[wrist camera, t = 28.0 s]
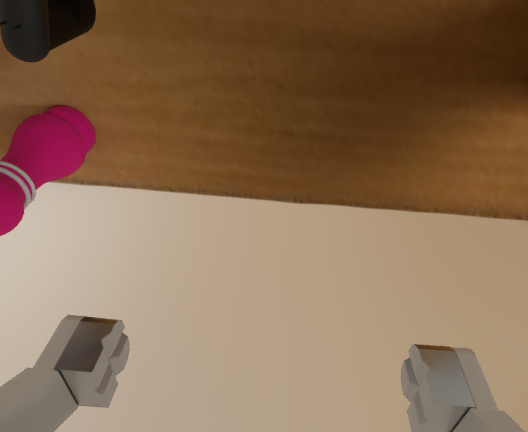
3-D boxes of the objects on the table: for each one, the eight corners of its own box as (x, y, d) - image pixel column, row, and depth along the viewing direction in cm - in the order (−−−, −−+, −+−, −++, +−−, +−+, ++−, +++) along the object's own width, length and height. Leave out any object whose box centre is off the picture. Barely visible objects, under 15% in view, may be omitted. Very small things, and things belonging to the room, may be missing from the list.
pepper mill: (30, 99, 44) (-120, 196, 28) (91, 101, 44) (-27, 200, 28) (51, 154, 48) (-69, 265, 33) (106, 157, 48) (12, 270, 32)
